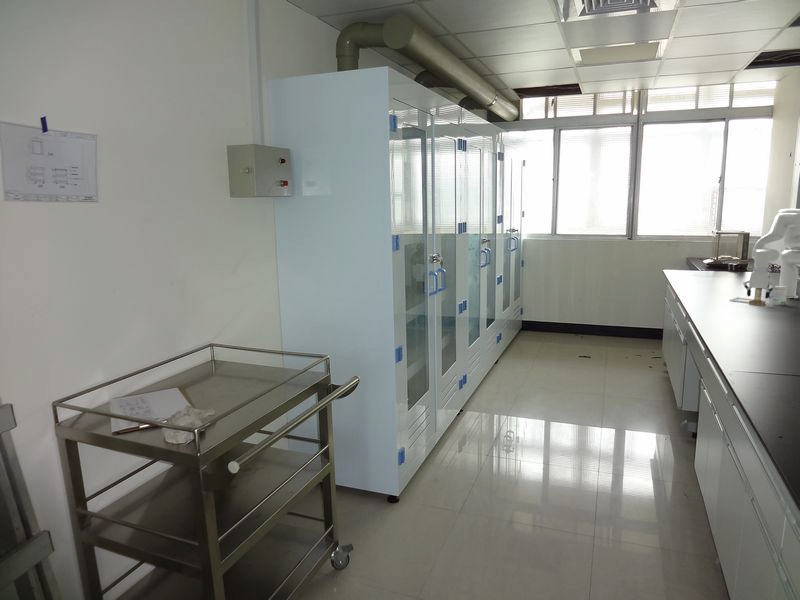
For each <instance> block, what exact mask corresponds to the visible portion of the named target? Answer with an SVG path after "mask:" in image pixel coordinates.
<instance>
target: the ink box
mask: <svg viewBox="0 0 800 600" xmlns="http://www.w3.org/2000/svg"><path fill="white" fill-rule="evenodd" d="M771 288H772V286H771V285H770V286H769V289H771ZM786 297H787V287H784V286H779V285H776V287H775V288H774V289H773V290H772V291H770V294H769V297H768V298H767V301H766V303H767V305H768V304H769V305H770V306H786V305H787V304H786V303H787V298H786Z"/></svg>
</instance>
